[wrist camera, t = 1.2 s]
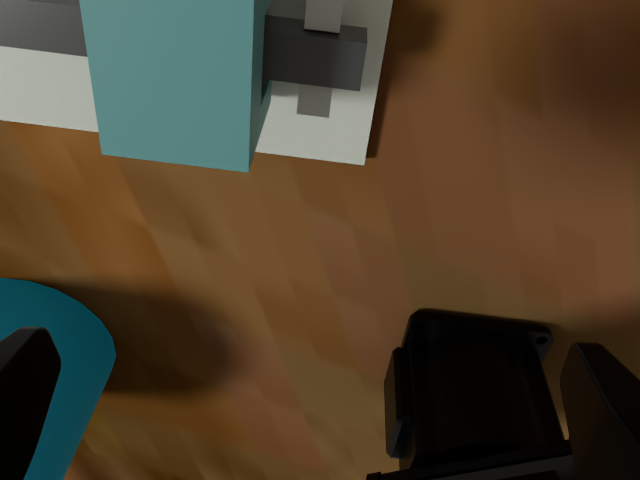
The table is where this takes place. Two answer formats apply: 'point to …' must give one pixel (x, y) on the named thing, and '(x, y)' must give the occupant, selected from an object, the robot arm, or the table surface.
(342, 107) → the sliding vise on plate
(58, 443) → the mug
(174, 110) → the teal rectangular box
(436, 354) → the robot arm
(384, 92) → the table surface
